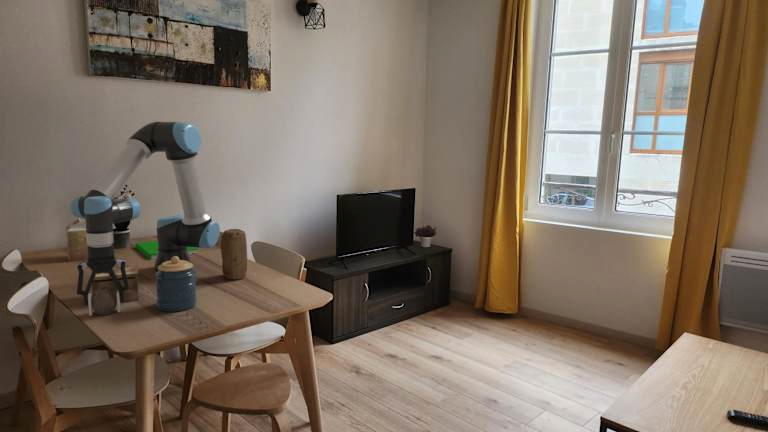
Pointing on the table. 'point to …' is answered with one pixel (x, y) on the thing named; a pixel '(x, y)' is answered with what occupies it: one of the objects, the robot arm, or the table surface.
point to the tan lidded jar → (77, 241)
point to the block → (234, 253)
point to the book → (155, 249)
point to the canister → (176, 285)
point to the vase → (104, 301)
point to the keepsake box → (128, 294)
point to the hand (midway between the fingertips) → (105, 312)
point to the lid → (118, 273)
